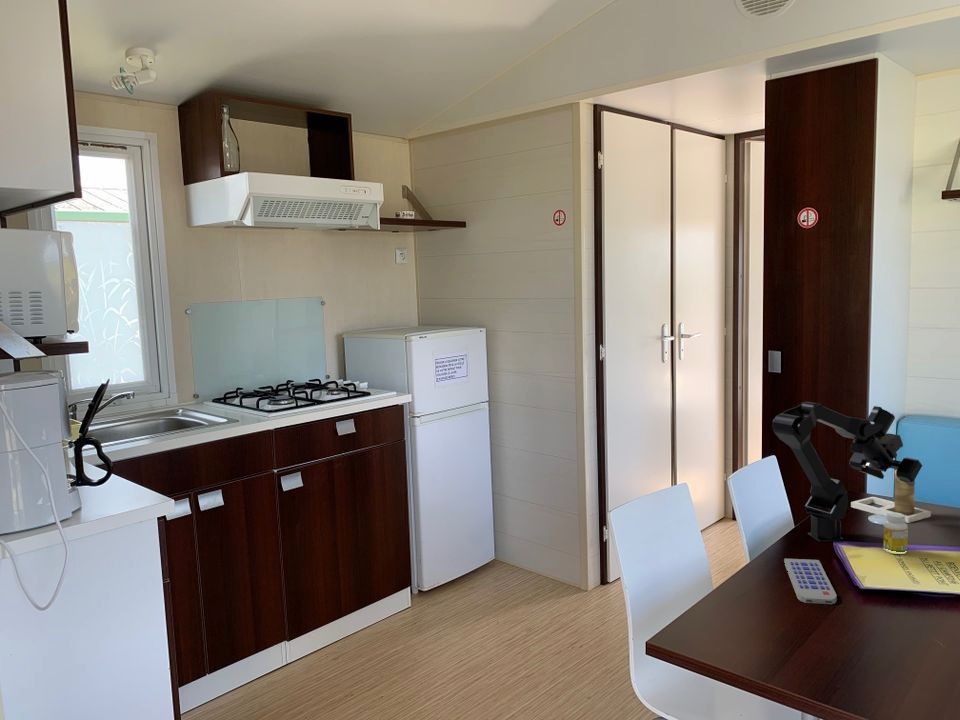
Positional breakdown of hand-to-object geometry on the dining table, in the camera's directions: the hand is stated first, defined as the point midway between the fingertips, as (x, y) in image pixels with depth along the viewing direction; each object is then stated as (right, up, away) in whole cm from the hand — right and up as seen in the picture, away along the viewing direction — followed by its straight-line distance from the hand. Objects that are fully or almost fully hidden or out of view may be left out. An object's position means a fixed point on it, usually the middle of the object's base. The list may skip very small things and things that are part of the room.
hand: (897, 481), depth 212 cm
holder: (+1, -10, +6) cm, 12 cm away
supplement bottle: (-14, -14, -24) cm, 31 cm away
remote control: (-43, -18, -39) cm, 61 cm away
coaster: (-4, -11, -1) cm, 12 cm away
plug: (+3, -10, +2) cm, 11 cm away
